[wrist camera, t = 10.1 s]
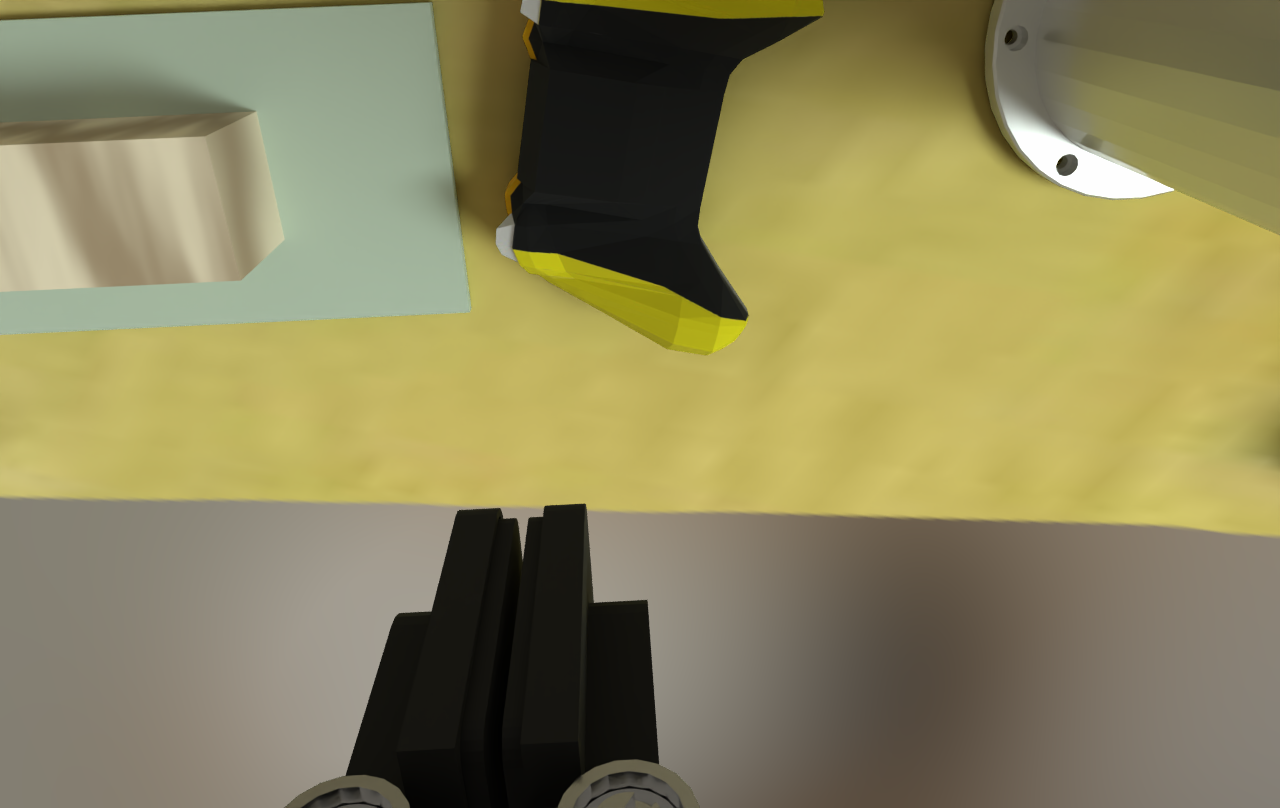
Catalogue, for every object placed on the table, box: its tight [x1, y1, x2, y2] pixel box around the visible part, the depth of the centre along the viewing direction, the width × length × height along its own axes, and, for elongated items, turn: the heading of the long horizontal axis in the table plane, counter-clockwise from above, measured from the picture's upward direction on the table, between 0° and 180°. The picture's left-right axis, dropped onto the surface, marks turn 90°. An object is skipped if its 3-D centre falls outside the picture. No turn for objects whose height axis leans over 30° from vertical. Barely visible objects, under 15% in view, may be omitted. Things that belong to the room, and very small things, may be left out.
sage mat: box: [0, 2, 471, 335], centre depth 36 cm, size 20×12×1 cm, turn 92°
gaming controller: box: [496, 0, 824, 355], centre depth 33 cm, size 15×6×10 cm
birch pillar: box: [0, 111, 285, 292], centre depth 33 cm, size 5×5×12 cm
